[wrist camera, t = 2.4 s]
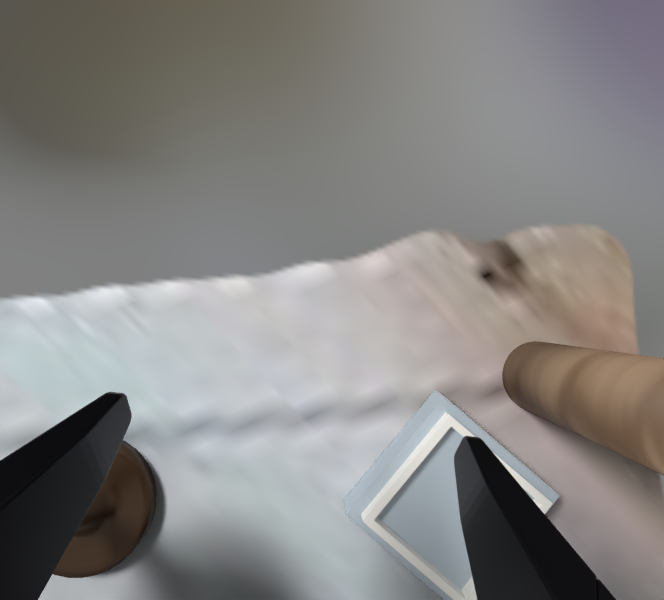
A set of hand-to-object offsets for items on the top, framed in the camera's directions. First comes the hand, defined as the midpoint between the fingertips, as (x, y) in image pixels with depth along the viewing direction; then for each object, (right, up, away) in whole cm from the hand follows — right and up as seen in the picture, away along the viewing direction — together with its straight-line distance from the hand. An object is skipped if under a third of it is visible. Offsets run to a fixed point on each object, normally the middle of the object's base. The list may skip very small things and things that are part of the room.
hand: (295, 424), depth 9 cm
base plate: (+9, -10, +16) cm, 21 cm away
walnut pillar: (+16, -2, +16) cm, 23 cm away
